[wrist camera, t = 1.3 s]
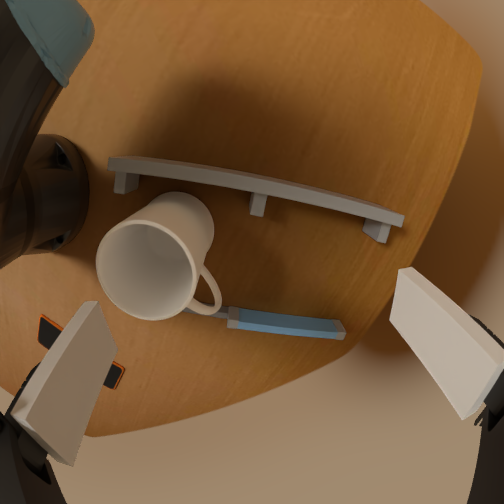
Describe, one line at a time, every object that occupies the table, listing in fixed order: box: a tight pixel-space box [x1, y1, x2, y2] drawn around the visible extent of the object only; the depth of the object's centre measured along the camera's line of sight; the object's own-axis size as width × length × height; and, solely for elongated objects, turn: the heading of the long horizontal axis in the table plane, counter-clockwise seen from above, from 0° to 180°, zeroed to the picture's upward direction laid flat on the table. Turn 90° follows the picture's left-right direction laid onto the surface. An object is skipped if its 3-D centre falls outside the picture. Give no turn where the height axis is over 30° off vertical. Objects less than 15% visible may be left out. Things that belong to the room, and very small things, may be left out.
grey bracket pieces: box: [107, 156, 405, 340], centre depth 28 cm, size 29×17×6 cm, turn 79°
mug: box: [96, 192, 222, 320], centre depth 25 cm, size 12×8×12 cm
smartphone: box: [37, 314, 124, 390], centre depth 36 cm, size 8×17×1 cm, turn 56°
